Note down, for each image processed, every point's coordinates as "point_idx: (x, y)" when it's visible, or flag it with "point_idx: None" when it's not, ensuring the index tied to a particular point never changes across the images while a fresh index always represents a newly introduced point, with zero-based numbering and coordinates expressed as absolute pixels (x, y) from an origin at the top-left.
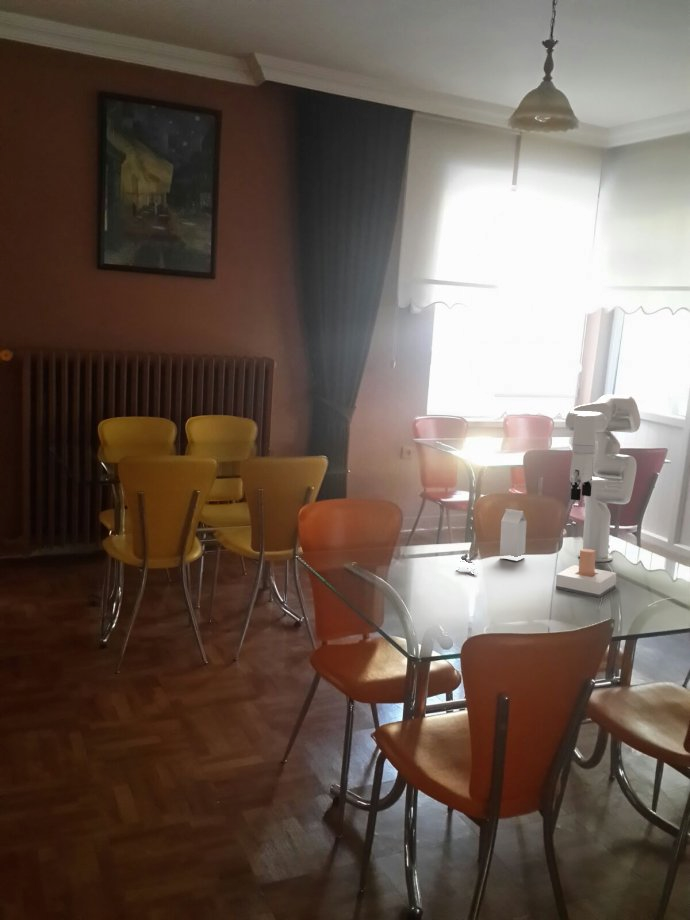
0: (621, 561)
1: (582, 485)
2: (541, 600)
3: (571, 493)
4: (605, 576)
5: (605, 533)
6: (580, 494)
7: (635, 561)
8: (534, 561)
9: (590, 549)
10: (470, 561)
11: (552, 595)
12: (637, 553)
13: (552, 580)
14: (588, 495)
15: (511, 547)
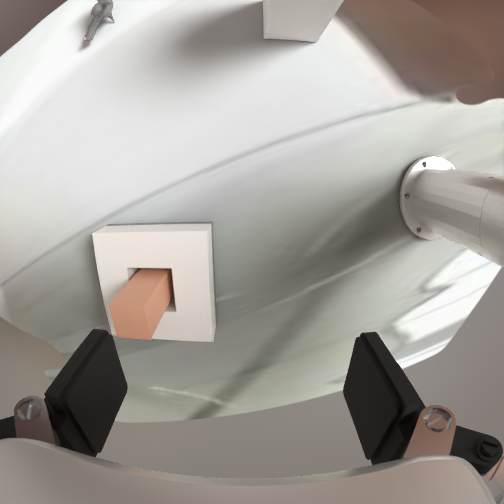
0: (433, 258)
1: (394, 402)
2: (37, 237)
3: (72, 361)
4: (163, 332)
5: (462, 245)
6: (109, 422)
7: (443, 281)
8: (307, 71)
9: (146, 325)
10: (96, 10)
11: (69, 240)
12: (490, 261)
13: (161, 186)
14: (345, 386)
15: (265, 7)
